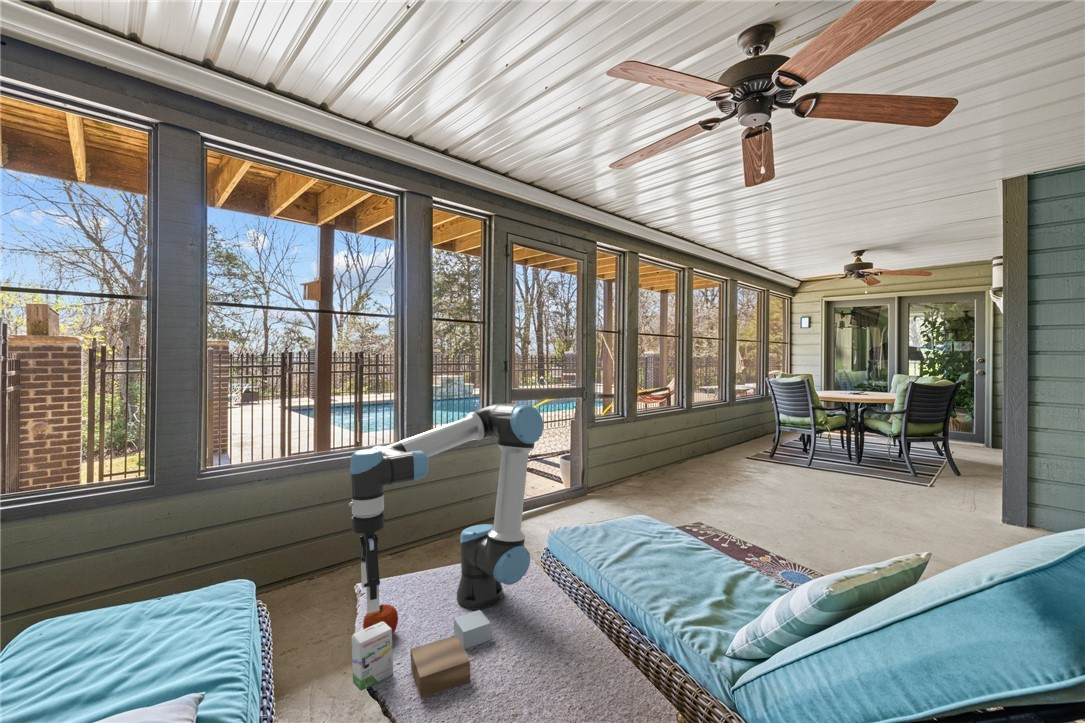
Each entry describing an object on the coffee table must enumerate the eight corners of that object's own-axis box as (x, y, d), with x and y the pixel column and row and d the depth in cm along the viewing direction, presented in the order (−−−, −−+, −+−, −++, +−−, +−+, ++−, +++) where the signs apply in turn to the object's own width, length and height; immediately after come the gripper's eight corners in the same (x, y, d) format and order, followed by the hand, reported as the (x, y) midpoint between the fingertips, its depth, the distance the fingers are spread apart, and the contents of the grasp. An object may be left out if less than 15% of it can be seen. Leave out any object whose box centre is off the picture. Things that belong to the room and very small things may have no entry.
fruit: (402, 639, 129) (401, 604, 129) (366, 651, 124) (365, 615, 124) (394, 623, 138) (393, 590, 138) (360, 634, 133) (359, 600, 133)
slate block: (454, 635, 131) (453, 618, 131) (480, 626, 135) (479, 609, 135) (464, 650, 124) (463, 632, 124) (491, 640, 128) (490, 622, 128)
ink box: (360, 692, 109) (359, 643, 109) (352, 682, 113) (350, 634, 113) (394, 673, 115) (392, 627, 115) (384, 665, 119) (383, 620, 119)
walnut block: (411, 668, 117) (410, 649, 117) (456, 653, 123) (456, 635, 122) (420, 699, 106) (420, 677, 106) (470, 681, 112) (469, 661, 112)
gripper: (348, 502, 123) (350, 580, 123) (355, 532, 101) (358, 628, 101) (377, 497, 127) (379, 574, 127) (391, 526, 104) (393, 618, 104)
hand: (370, 598), depth 114 cm, fingers open, 13 cm apart
